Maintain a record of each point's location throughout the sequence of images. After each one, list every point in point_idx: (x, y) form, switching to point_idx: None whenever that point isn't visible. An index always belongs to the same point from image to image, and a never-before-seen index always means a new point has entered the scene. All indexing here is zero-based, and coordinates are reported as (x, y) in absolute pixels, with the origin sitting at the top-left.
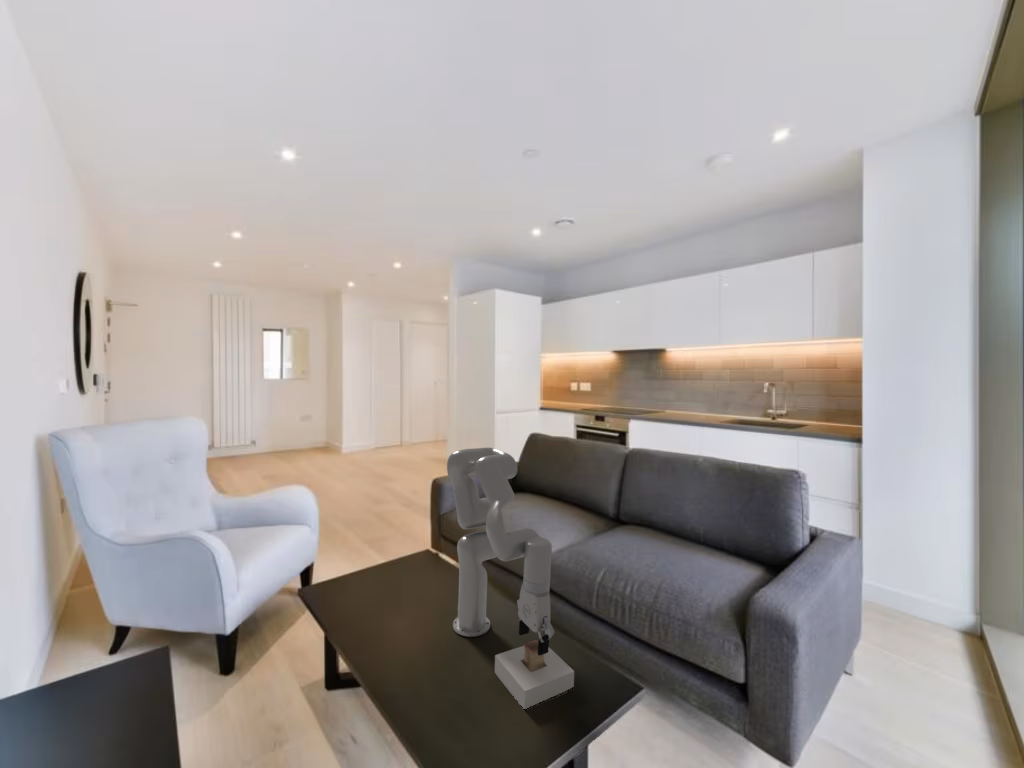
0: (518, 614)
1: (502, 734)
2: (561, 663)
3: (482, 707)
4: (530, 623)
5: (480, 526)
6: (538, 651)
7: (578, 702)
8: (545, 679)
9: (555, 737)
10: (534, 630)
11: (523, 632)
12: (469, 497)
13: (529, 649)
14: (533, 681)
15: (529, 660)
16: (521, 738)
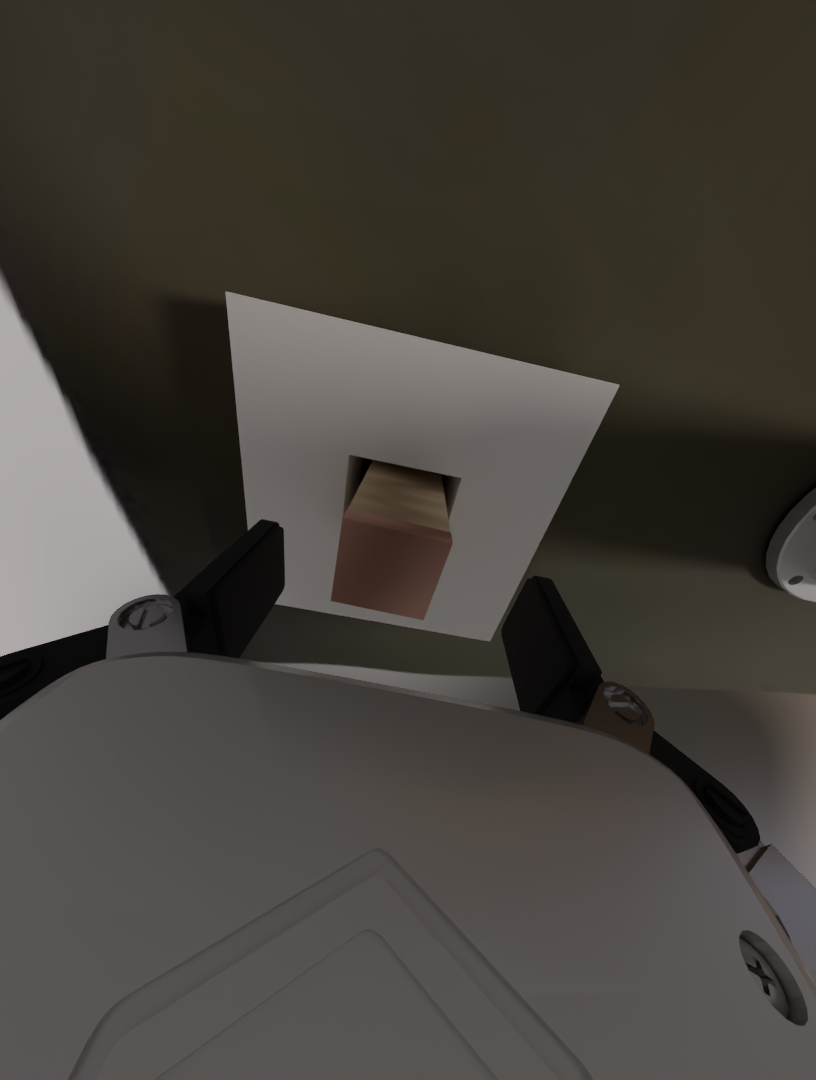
0: (671, 789)
1: (181, 17)
2: (320, 598)
3: (434, 72)
4: (182, 784)
5: None
6: (251, 533)
7: (231, 527)
8: (263, 475)
9: (94, 319)
10: (84, 681)
11: (522, 607)
12: None
13: (378, 523)
14: (278, 410)
15: (383, 491)
16: (123, 133)
